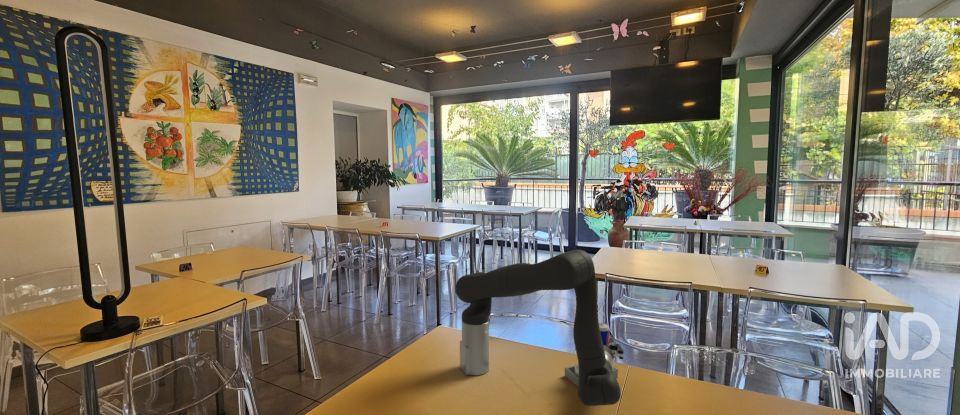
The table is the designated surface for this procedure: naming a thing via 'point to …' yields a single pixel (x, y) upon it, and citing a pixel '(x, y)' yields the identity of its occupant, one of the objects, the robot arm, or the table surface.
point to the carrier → (574, 378)
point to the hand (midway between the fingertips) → (601, 340)
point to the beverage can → (604, 333)
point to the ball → (577, 369)
